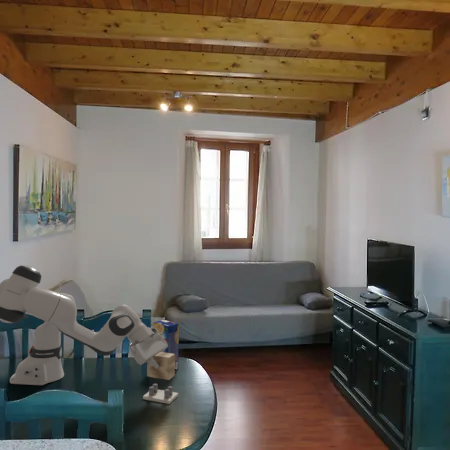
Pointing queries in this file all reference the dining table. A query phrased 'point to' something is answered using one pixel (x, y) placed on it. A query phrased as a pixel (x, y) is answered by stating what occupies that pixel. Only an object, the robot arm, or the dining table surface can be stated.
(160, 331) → the beverage box
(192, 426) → the dining table surface
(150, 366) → the tan wooden block
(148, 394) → the peg stand
